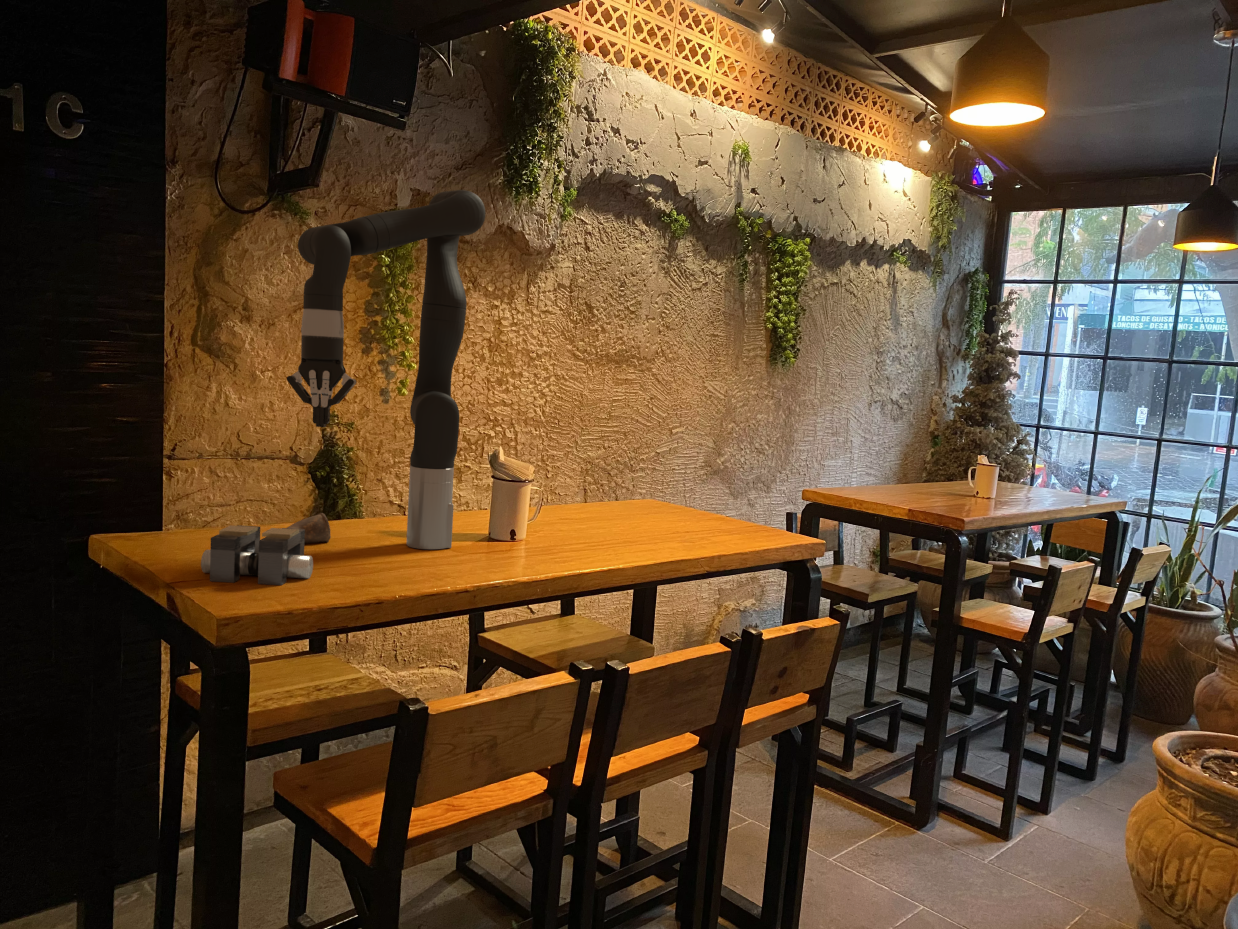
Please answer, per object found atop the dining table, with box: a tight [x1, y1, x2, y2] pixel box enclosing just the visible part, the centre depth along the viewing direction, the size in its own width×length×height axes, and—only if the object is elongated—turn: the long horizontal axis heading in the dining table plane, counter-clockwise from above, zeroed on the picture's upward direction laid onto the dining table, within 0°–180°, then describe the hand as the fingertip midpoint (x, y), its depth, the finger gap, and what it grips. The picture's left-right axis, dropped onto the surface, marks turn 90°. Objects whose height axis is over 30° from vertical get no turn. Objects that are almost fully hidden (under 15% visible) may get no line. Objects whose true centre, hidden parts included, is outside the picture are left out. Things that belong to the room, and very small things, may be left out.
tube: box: [200, 549, 314, 579], centre depth 155 cm, size 18×4×4 cm, turn 93°
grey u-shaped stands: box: [209, 524, 305, 586], centre depth 155 cm, size 12×12×8 cm
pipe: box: [286, 512, 332, 545], centre depth 180 cm, size 6×17×10 cm
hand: (320, 426), depth 167 cm, fingers closed
